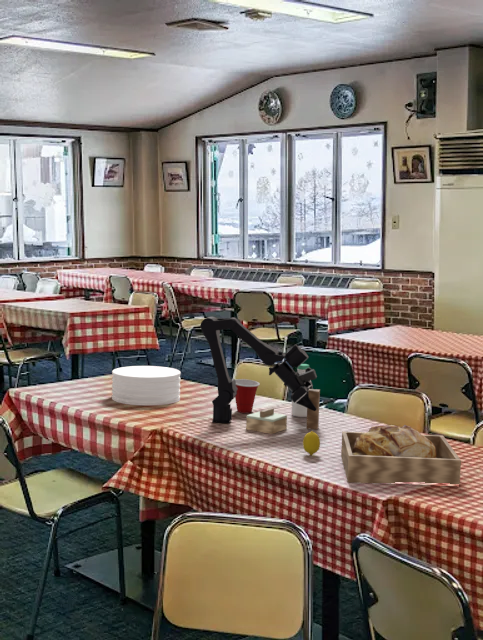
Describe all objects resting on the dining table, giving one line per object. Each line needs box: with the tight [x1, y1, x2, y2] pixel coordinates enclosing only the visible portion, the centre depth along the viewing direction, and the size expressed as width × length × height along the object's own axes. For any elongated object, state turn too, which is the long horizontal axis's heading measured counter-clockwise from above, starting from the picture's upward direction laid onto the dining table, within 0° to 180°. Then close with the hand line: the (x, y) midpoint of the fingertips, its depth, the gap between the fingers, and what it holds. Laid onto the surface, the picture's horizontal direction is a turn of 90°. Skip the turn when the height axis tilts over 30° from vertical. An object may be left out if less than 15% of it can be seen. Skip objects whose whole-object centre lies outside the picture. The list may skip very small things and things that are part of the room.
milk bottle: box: [291, 363, 313, 418], centre depth 358 cm, size 8×8×20 cm
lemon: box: [302, 430, 321, 456], centre depth 299 cm, size 6×6×8 cm
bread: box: [353, 424, 436, 458], centre depth 285 cm, size 25×27×15 cm
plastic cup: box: [234, 378, 260, 414], centre depth 362 cm, size 11×11×12 cm
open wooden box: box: [245, 417, 288, 435], centre depth 334 cm, size 11×10×4 cm
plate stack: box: [111, 365, 182, 406], centre depth 382 cm, size 28×28×12 cm
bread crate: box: [340, 430, 462, 485], centre depth 284 cm, size 32×30×8 cm
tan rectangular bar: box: [305, 388, 321, 430], centre depth 337 cm, size 4×4×14 cm
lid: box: [246, 407, 288, 422], centre depth 333 cm, size 11×10×3 cm
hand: (317, 407), depth 337 cm, fingers open, 9 cm apart
